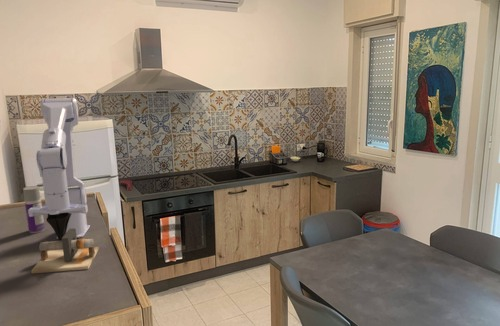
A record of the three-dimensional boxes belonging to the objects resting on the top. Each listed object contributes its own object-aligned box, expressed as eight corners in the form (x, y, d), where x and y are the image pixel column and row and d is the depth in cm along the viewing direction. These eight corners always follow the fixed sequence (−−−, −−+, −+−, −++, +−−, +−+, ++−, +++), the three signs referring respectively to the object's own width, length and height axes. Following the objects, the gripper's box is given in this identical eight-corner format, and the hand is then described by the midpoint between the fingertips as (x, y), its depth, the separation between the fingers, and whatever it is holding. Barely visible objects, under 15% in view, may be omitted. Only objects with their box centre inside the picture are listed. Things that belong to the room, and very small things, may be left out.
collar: (72, 250, 106) (69, 228, 105) (78, 250, 107) (75, 228, 105) (64, 261, 100) (61, 238, 98) (70, 261, 100) (68, 238, 99)
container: (26, 231, 123) (19, 188, 120) (39, 226, 127) (33, 185, 124) (34, 234, 121) (28, 190, 117) (48, 229, 125) (42, 186, 121)
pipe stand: (48, 252, 108) (46, 234, 106) (98, 249, 110) (96, 230, 108) (31, 273, 96) (28, 252, 95) (88, 268, 98) (85, 248, 97)
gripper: (20, 197, 94) (27, 246, 97) (80, 194, 96) (85, 242, 99) (31, 189, 101) (38, 236, 104) (87, 187, 103) (92, 232, 106)
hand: (62, 238), depth 102 cm, fingers closed
